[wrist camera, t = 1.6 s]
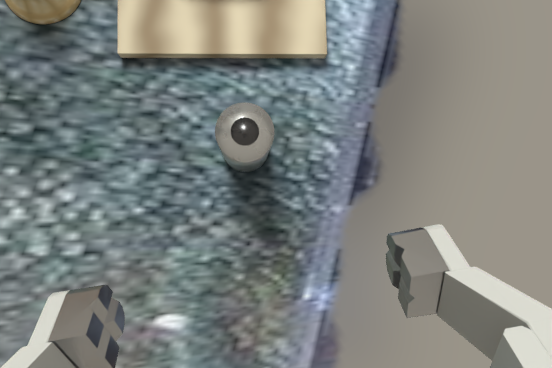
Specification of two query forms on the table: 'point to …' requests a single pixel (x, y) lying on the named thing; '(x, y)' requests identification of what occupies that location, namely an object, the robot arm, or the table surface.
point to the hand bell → (43, 10)
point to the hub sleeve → (244, 136)
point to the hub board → (222, 29)
